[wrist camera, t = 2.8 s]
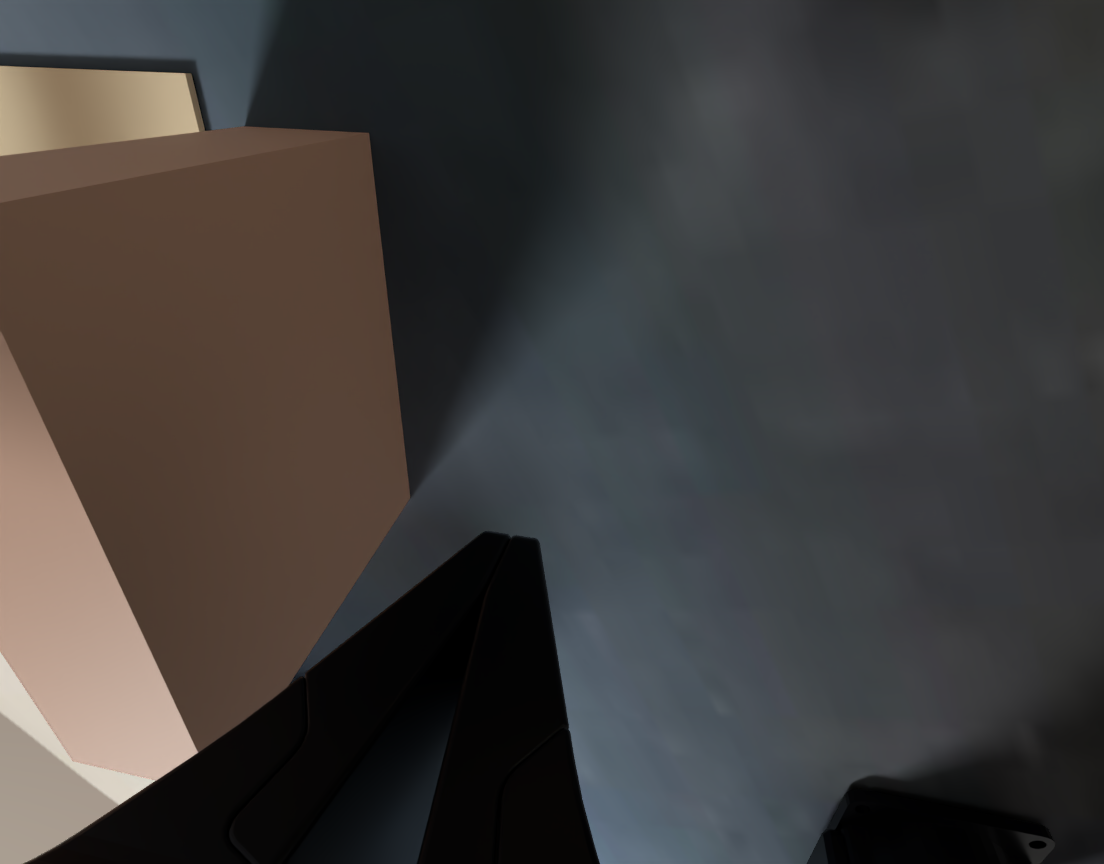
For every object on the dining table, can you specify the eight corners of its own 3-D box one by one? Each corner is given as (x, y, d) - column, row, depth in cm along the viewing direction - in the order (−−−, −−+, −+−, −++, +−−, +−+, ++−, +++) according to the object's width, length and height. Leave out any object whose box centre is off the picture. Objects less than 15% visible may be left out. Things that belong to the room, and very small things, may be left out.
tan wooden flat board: (191, 73, 13) (184, 73, 13) (294, 506, 19) (291, 510, 19) (-143, 59, 15) (-153, 59, 14) (53, 469, 21) (48, 473, 21)
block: (369, 132, 13) (-56, 212, 6) (410, 497, 18) (217, 795, 11) (237, 126, 14) (-318, 190, 6) (313, 483, 19) (63, 758, 11)
